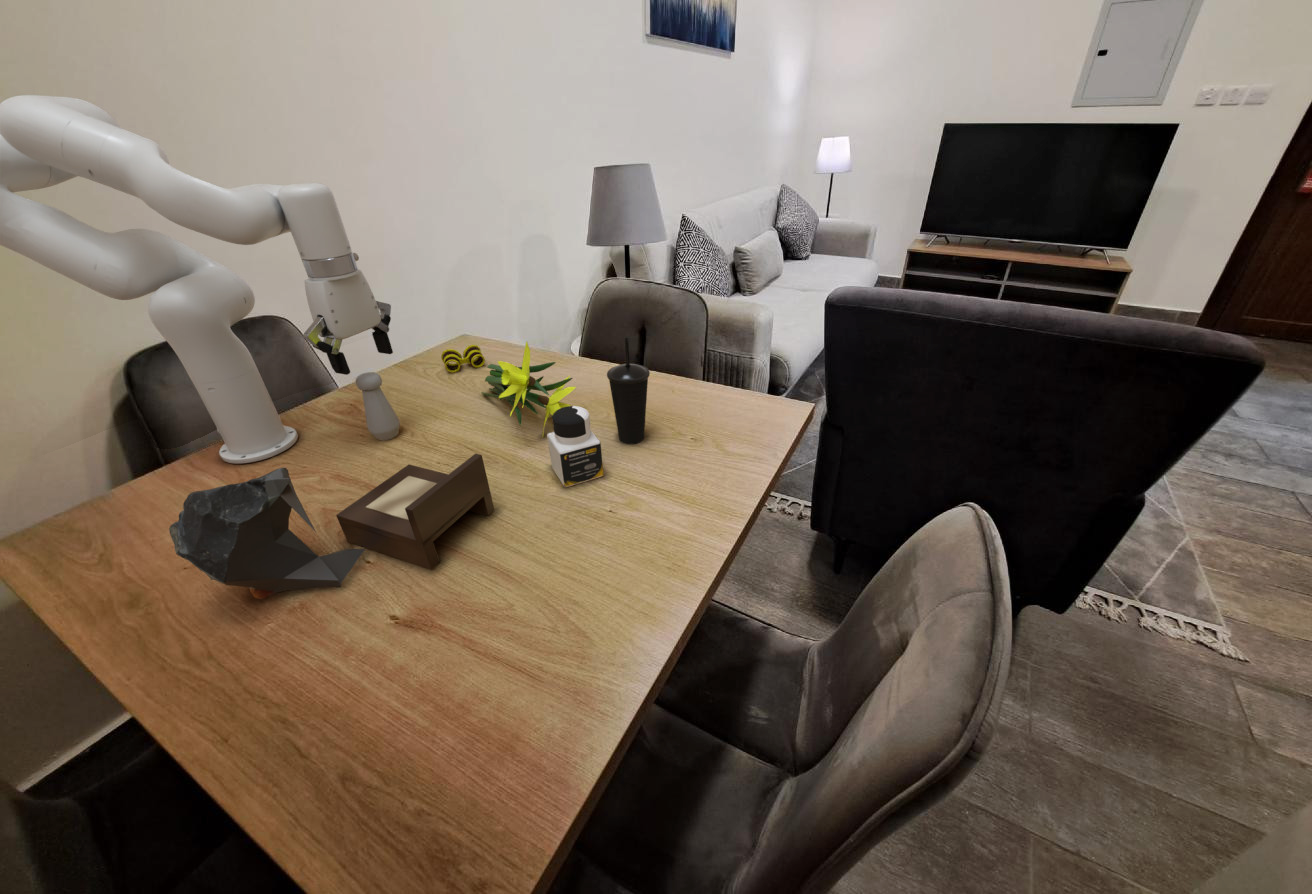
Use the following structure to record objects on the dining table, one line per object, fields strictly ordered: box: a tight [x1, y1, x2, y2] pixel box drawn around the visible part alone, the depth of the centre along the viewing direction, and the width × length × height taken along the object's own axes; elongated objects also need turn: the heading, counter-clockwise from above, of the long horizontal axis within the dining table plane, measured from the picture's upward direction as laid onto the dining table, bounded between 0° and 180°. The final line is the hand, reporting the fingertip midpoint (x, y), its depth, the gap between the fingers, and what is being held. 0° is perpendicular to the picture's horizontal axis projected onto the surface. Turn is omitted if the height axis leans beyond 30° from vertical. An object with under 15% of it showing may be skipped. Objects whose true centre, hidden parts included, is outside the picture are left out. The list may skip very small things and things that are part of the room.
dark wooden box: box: [335, 453, 496, 571], centre depth 78 cm, size 16×14×10 cm
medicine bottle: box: [546, 405, 604, 488], centre depth 89 cm, size 7×7×12 cm
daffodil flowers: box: [480, 341, 577, 438], centre depth 106 cm, size 17×15×35 cm
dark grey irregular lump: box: [168, 467, 367, 600], centre depth 67 cm, size 14×15×18 cm
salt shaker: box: [355, 371, 401, 442], centre depth 101 cm, size 6×6×13 cm
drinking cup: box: [606, 337, 651, 445], centre depth 96 cm, size 8×8×20 cm
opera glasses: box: [440, 344, 486, 373], centre depth 132 cm, size 10×5×5 cm, turn 118°
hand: (365, 362), depth 97 cm, fingers open, 9 cm apart
